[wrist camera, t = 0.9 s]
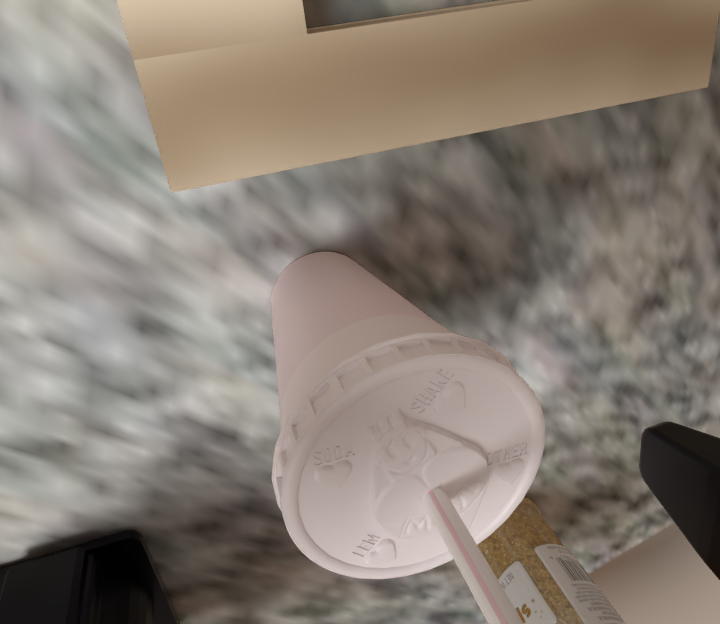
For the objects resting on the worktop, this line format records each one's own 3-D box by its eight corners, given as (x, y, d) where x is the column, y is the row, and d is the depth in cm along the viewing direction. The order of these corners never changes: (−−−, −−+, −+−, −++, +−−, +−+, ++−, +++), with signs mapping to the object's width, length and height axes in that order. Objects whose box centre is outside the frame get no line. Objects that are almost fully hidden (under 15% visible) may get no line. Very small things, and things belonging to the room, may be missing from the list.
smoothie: (292, 403, 23) (434, 828, 11) (193, 280, 20) (240, 698, 8) (430, 315, 23) (722, 640, 11) (354, 177, 20) (655, 428, 8)
